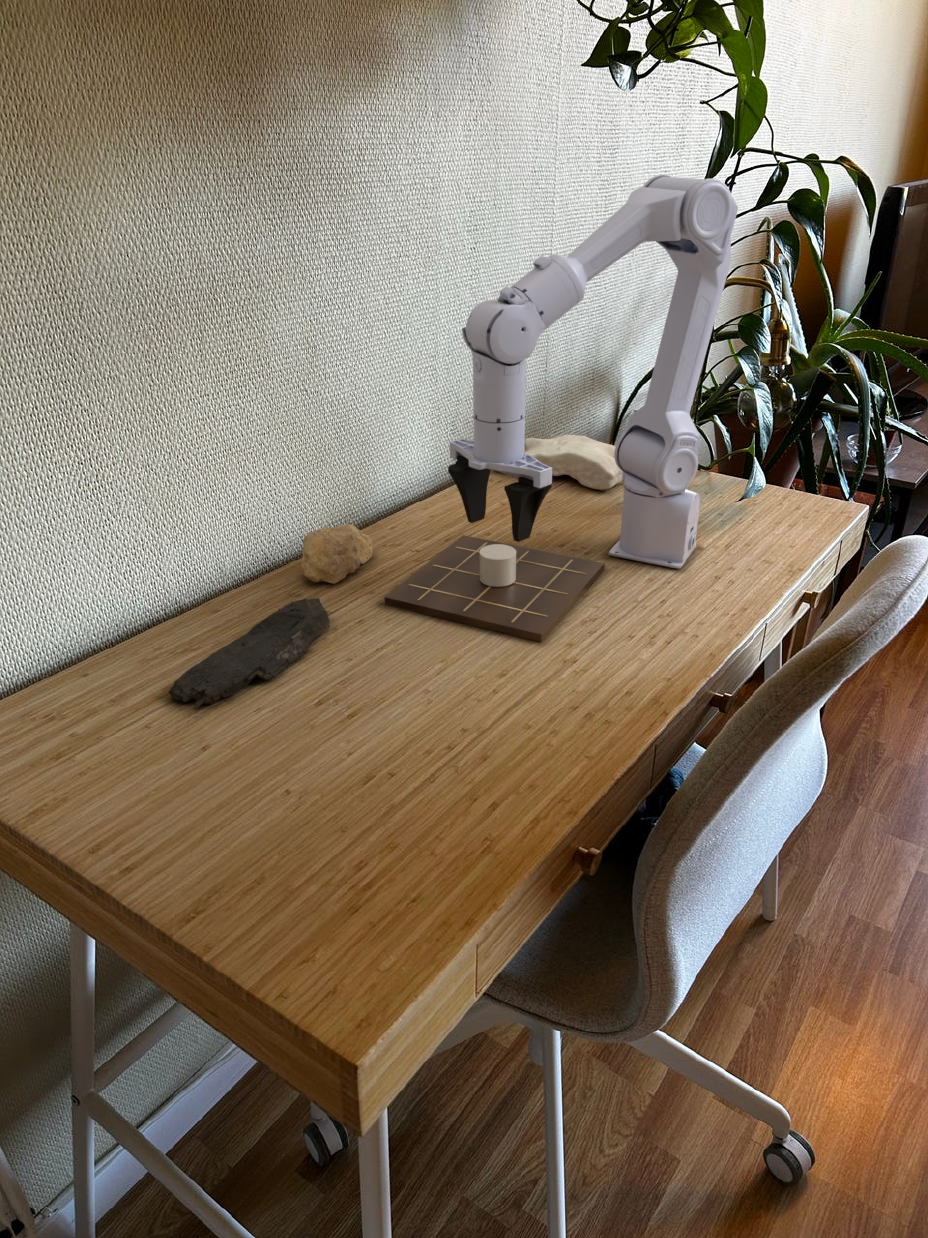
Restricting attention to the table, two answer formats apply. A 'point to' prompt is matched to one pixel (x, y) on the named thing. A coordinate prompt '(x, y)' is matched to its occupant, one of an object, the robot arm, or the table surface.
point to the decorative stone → (578, 459)
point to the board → (497, 589)
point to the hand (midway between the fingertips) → (498, 529)
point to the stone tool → (334, 553)
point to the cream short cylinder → (497, 565)
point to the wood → (254, 654)
